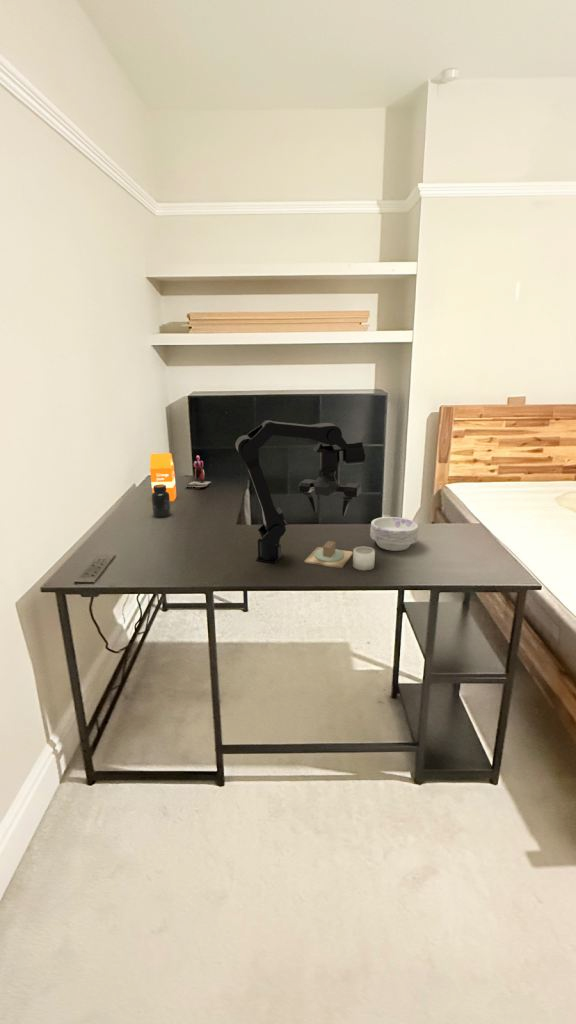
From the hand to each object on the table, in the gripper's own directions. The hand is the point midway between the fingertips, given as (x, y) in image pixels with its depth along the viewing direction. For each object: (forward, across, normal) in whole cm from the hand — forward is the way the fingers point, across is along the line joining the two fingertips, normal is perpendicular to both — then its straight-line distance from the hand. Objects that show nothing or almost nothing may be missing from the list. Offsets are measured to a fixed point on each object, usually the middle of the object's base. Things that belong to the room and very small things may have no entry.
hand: (329, 514), depth 164 cm
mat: (+13, +1, -4) cm, 14 cm away
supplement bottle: (+13, -73, +13) cm, 75 cm away
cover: (+12, +1, -4) cm, 13 cm away
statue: (+13, -82, +54) cm, 99 cm away
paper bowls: (+13, +18, +13) cm, 26 cm away
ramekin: (+13, +13, -6) cm, 19 cm away
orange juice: (+13, -85, +32) cm, 92 cm away
